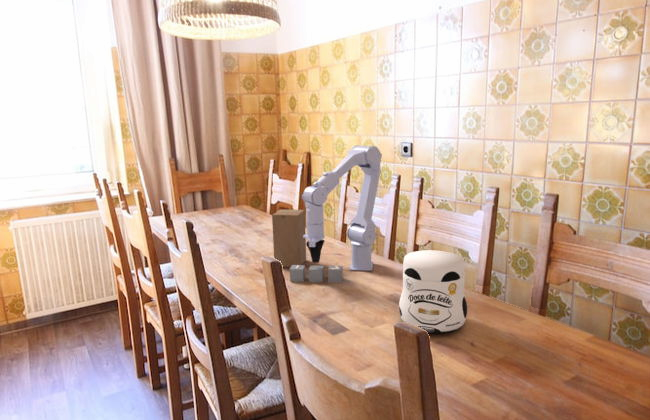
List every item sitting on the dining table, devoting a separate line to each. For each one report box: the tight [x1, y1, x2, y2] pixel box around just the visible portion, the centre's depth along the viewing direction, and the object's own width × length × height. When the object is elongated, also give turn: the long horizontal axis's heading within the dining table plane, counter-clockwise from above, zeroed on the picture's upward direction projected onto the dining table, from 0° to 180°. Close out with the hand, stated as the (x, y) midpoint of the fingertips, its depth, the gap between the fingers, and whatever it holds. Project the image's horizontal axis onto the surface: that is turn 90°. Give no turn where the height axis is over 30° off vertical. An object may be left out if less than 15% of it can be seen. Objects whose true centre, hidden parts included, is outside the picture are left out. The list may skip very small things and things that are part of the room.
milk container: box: [398, 249, 468, 334], centre depth 119 cm, size 17×17×18 cm
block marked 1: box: [289, 264, 306, 283], centre depth 156 cm, size 4×4×5 cm
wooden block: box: [271, 209, 307, 268], centre depth 172 cm, size 10×10×20 cm
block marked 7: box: [327, 265, 344, 284], centre depth 154 cm, size 4×4×5 cm
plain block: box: [308, 264, 325, 283], centre depth 155 cm, size 4×4×4 cm
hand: (315, 262), depth 154 cm, fingers closed
